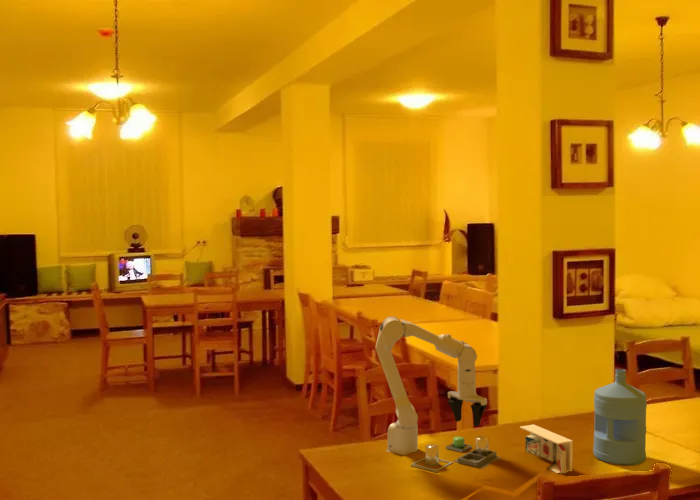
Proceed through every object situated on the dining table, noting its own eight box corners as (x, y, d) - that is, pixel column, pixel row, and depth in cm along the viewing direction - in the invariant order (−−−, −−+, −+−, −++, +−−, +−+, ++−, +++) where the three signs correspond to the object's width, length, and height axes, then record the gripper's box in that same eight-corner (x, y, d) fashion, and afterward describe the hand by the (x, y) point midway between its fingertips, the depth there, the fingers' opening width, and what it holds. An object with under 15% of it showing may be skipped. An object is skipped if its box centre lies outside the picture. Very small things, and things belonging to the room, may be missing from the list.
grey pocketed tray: (452, 465, 228) (453, 457, 228) (472, 454, 238) (472, 446, 238) (482, 472, 222) (482, 463, 222) (501, 461, 232) (501, 452, 232)
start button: (451, 447, 240) (451, 438, 240) (456, 444, 243) (456, 436, 243) (460, 449, 238) (460, 440, 238) (466, 446, 241) (466, 438, 241)
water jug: (607, 446, 246) (608, 362, 244) (654, 457, 235) (655, 370, 233) (584, 457, 235) (585, 370, 233) (632, 469, 224) (633, 377, 222)
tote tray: (411, 468, 225) (411, 464, 225) (427, 460, 232) (427, 456, 232) (437, 475, 219) (437, 470, 219) (452, 466, 227) (452, 462, 227)
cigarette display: (519, 455, 238) (519, 426, 237) (533, 452, 240) (533, 424, 239) (560, 475, 219) (560, 444, 219) (575, 472, 221) (575, 441, 221)
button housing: (445, 452, 240) (446, 446, 240) (455, 447, 245) (455, 441, 245) (462, 456, 236) (462, 449, 236) (471, 451, 241) (471, 445, 241)
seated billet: (473, 457, 232) (473, 438, 231) (479, 453, 235) (479, 435, 235) (484, 459, 229) (484, 440, 229) (490, 456, 232) (490, 437, 232)
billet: (422, 466, 226) (422, 446, 225) (429, 462, 229) (429, 443, 228) (434, 468, 223) (434, 449, 223) (441, 465, 226) (441, 446, 226)
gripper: (492, 382, 237) (493, 424, 238) (457, 376, 248) (457, 416, 248) (478, 387, 232) (479, 429, 233) (443, 380, 243) (444, 420, 244)
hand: (467, 423), depth 240 cm, fingers open, 7 cm apart
